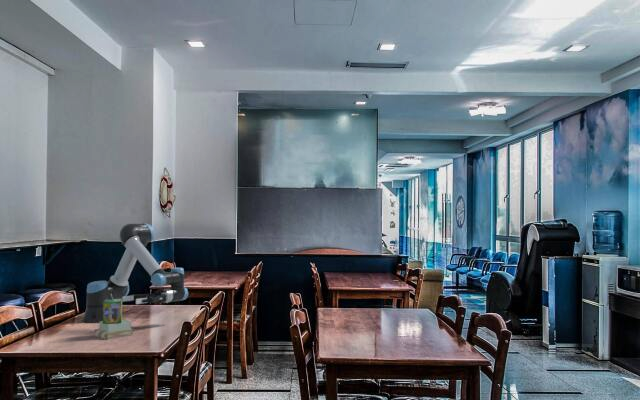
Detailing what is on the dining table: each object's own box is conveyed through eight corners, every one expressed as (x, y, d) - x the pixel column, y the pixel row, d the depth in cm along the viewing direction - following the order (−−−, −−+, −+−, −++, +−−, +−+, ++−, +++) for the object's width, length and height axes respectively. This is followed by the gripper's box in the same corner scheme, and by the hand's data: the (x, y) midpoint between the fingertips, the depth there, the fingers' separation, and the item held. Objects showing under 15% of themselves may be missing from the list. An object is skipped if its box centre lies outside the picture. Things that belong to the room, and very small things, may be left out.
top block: (99, 329, 282) (99, 321, 282) (121, 326, 290) (121, 318, 290) (108, 332, 273) (108, 324, 273) (130, 329, 282) (131, 321, 282)
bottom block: (94, 337, 280) (94, 329, 280) (119, 333, 291) (119, 325, 291) (107, 341, 271) (108, 333, 271) (132, 336, 282) (132, 329, 282)
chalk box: (121, 323, 277) (121, 294, 278) (102, 324, 275) (103, 295, 275) (122, 320, 286) (123, 292, 287) (104, 320, 284) (104, 293, 284)
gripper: (175, 305, 296) (141, 309, 280) (150, 300, 312) (117, 304, 296) (176, 291, 297) (142, 295, 280) (150, 287, 313) (117, 291, 296)
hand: (129, 300), depth 288 cm, fingers open, 13 cm apart
